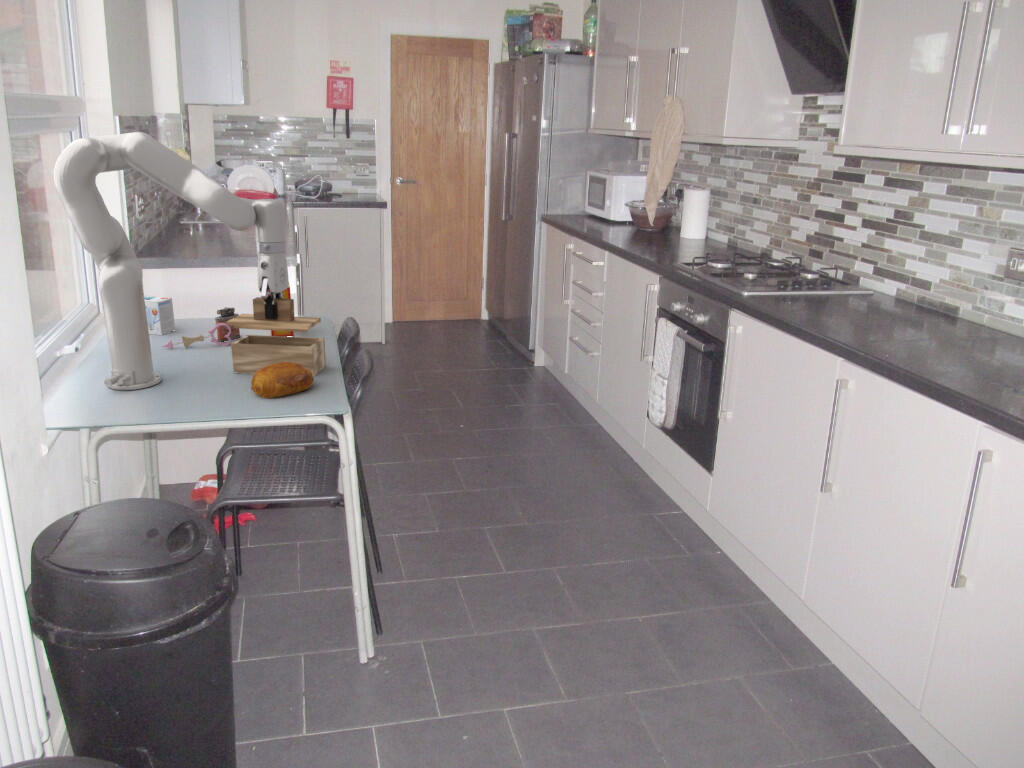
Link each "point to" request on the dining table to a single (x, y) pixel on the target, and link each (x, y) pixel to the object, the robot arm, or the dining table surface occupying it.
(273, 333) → the baking soda box
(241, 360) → the open wooden crate
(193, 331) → the dining table surface
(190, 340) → the decorative key
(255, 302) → the wooden block with riser
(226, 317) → the lighter
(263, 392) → the croissant
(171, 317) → the light bulb box
